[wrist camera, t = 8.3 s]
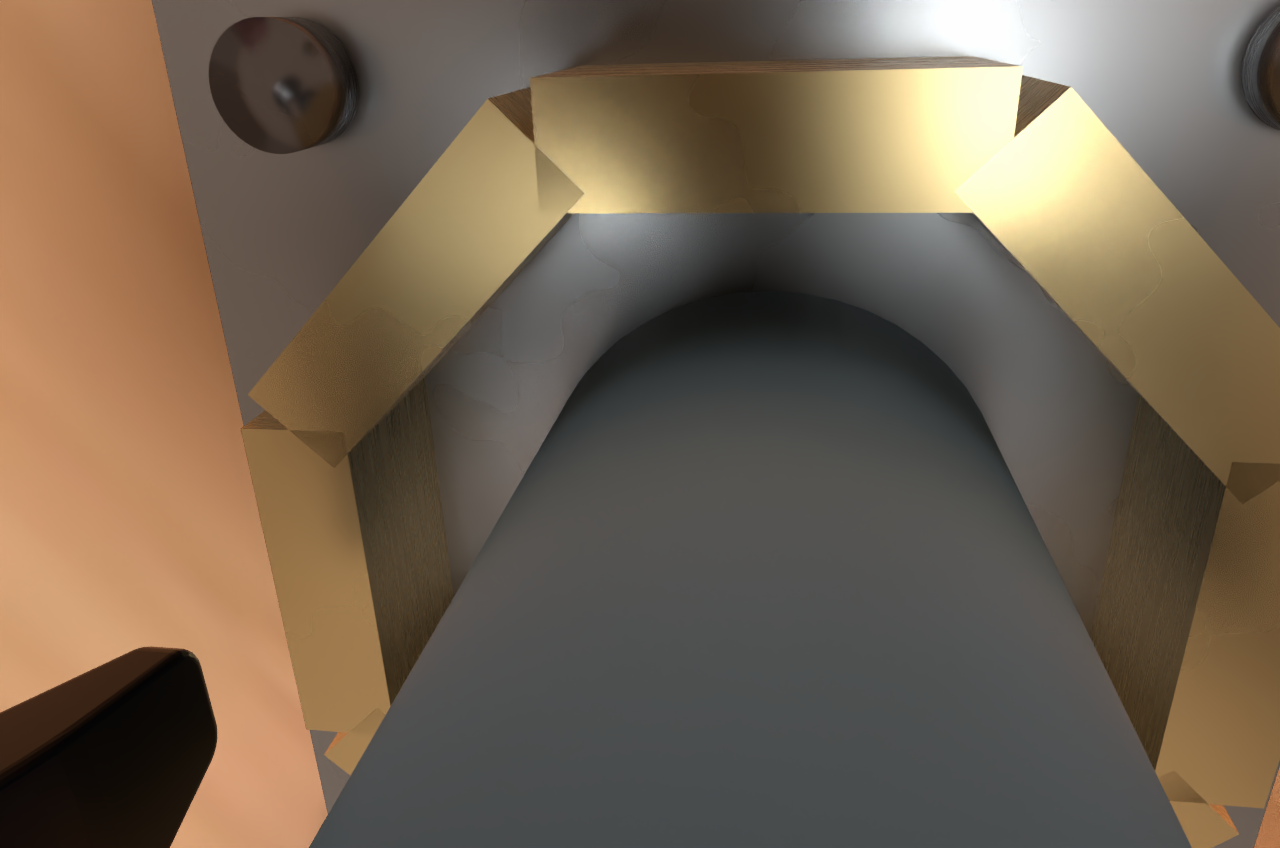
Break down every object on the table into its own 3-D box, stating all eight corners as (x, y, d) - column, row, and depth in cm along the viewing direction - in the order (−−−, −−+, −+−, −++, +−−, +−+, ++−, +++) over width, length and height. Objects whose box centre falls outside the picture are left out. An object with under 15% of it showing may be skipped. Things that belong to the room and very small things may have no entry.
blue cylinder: (972, 706, 11) (1284, 1877, 4) (558, 675, 12) (228, 1627, 5) (1033, 294, 9) (1846, 1225, 2) (528, 287, 10) (-118, 961, 3)
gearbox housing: (1119, 729, 15) (1299, 1114, 10) (431, 679, 17) (267, 984, 12) (1303, -88, 11) (1836, -195, 5) (326, -45, 12) (-33, -95, 7)
